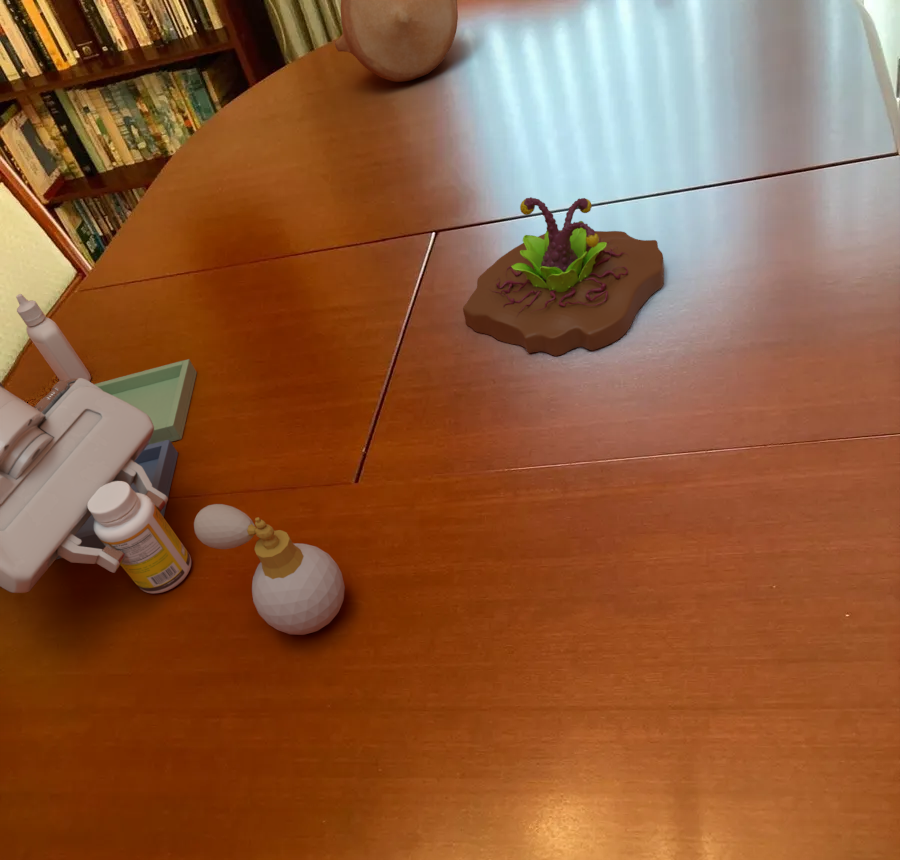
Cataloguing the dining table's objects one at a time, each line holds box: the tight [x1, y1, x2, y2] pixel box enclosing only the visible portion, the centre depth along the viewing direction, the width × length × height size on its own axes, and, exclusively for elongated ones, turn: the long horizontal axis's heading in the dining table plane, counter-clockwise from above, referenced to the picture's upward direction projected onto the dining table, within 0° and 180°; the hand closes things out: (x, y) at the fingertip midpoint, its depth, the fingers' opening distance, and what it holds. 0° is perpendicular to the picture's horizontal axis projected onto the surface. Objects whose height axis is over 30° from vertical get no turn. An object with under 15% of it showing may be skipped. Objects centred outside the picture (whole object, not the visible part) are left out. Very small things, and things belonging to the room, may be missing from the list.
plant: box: [462, 197, 665, 357], centre depth 91 cm, size 20×20×11 cm
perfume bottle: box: [193, 503, 346, 636], centre depth 70 cm, size 8×10×12 cm
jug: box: [334, 0, 459, 83], centre depth 148 cm, size 20×19×30 cm
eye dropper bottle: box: [15, 293, 92, 387], centre depth 107 cm, size 4×6×12 cm
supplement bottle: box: [87, 481, 192, 595], centre depth 79 cm, size 6×6×10 cm
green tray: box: [93, 358, 198, 445], centre depth 101 cm, size 13×13×2 cm
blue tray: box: [55, 440, 179, 560], centre depth 91 cm, size 13×13×2 cm
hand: (142, 535), depth 78 cm, fingers closed on supplement bottle, 5 cm apart
